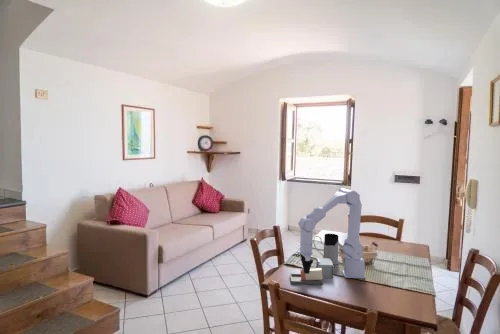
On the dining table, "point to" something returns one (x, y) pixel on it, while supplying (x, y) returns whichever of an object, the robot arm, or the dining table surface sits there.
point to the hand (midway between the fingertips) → (305, 270)
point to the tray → (297, 280)
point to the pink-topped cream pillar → (312, 274)
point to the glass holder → (330, 247)
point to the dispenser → (325, 267)
